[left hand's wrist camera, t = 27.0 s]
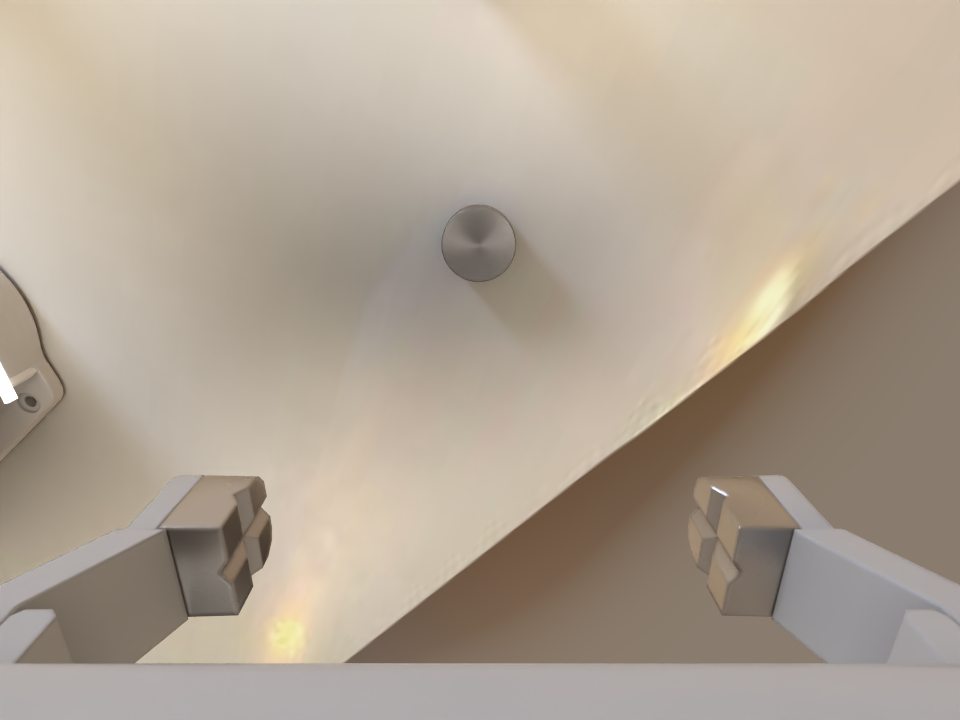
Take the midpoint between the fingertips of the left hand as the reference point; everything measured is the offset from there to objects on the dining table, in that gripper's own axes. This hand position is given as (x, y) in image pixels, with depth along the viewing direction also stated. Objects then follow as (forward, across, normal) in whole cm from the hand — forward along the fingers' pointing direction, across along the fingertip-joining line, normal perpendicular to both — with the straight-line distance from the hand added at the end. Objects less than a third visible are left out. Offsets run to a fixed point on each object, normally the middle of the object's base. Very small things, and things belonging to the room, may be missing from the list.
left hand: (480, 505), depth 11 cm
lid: (+28, 0, 0) cm, 28 cm away
